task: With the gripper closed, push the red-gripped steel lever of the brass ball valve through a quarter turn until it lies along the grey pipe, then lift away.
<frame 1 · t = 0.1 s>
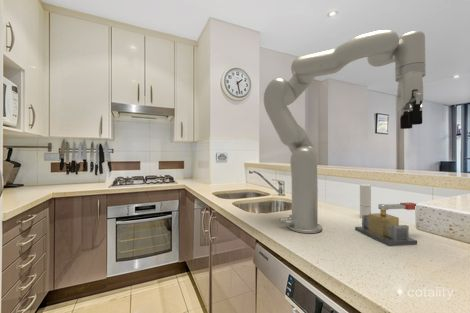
hand: (410, 126, 69), 37 cm above the table, tool pointing down, fingers open, 9 cm apart
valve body: (383, 236, 74), on the table
valve lever: (397, 206, 75), point 10 cm above the table, hinge at 0.0°
tube: (365, 218, 98), on the table
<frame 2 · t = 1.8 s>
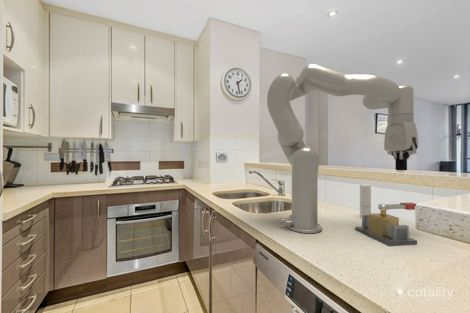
hand: (401, 170, 79), 23 cm above the table, tool pointing down, fingers closed
nothing on the table moved.
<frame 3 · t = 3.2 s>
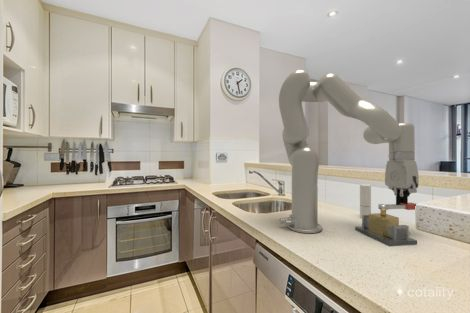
hand: (401, 206, 79), 9 cm above the table, tool pointing down, fingers closed
valve lever: (397, 206, 75), point 10 cm above the table, hinge at 0.4°, touching gripper
everything else where it was.
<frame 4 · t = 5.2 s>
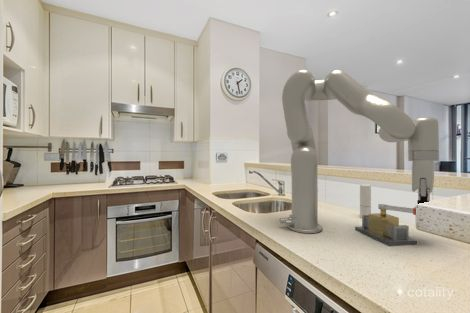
hand: (424, 213, 69), 9 cm above the table, tool pointing down, fingers closed
valve lever: (403, 209, 71), point 10 cm above the table, hinge at 52.0°, touching gripper
everything else where it was.
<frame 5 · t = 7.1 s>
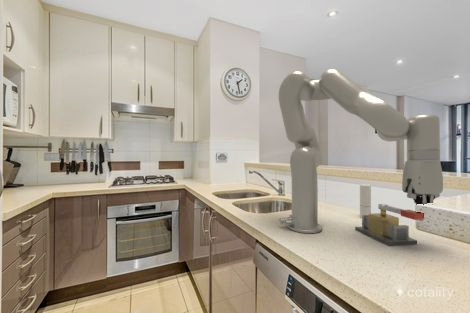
hand: (423, 217, 65), 9 cm above the table, tool pointing down, fingers closed
valve lever: (397, 210, 69), point 10 cm above the table, hinge at 89.4°
everything else where it was.
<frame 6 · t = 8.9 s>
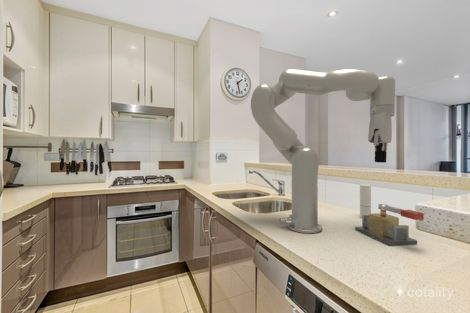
hand: (380, 162, 79), 26 cm above the table, tool pointing down, fingers closed
nothing on the table moved.
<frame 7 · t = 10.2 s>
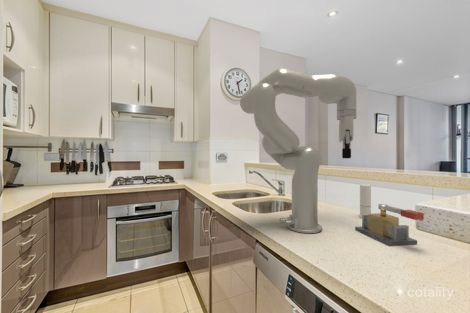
hand: (346, 158, 92), 27 cm above the table, tool pointing down, fingers closed
nothing on the table moved.
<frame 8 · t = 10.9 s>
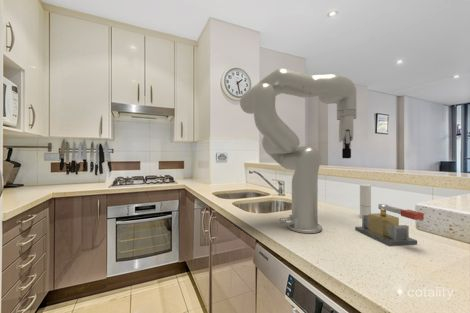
hand: (346, 158, 92), 27 cm above the table, tool pointing down, fingers closed
nothing on the table moved.
at the end: valve lever at +89° (first picture: +0°); tube moved 0.2 cm from its start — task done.
